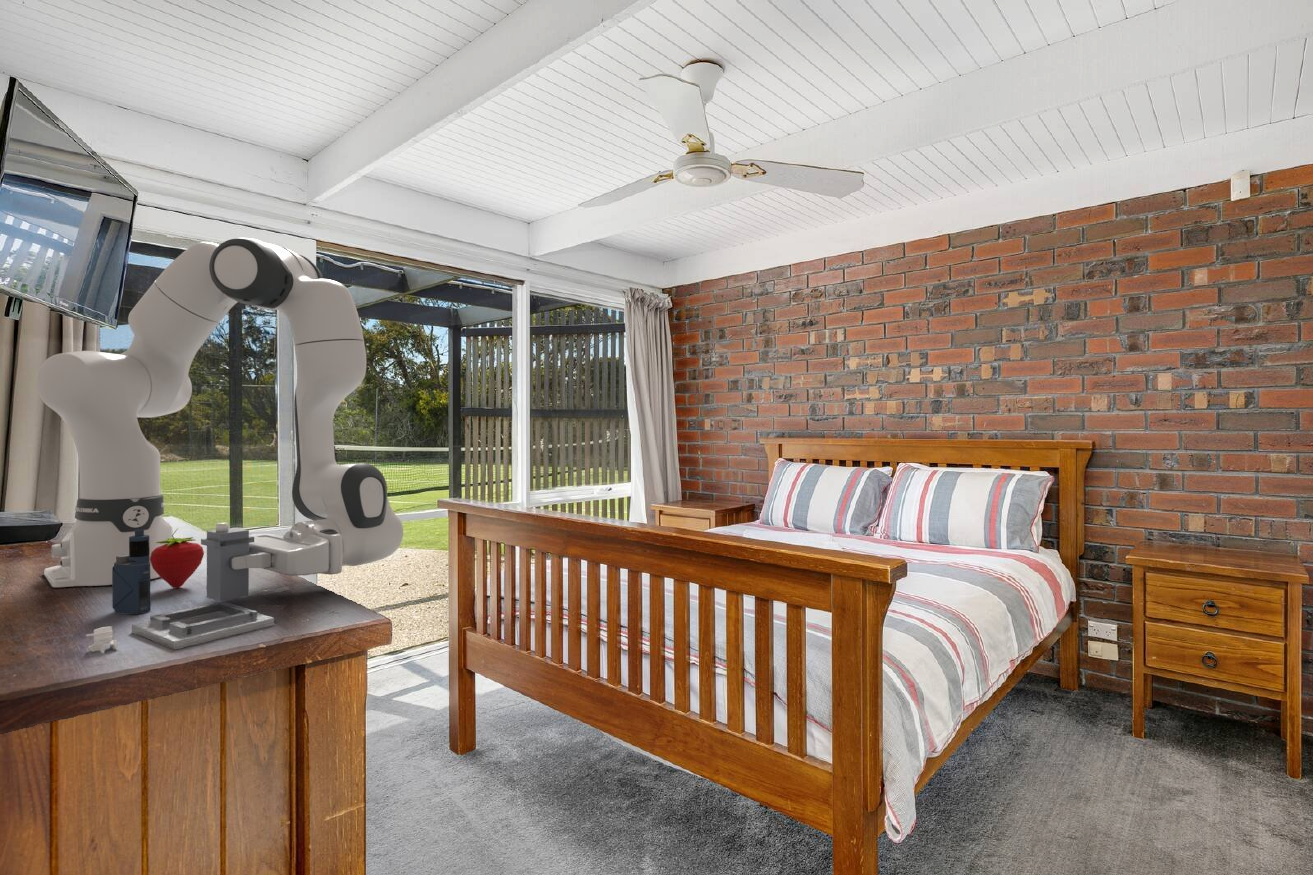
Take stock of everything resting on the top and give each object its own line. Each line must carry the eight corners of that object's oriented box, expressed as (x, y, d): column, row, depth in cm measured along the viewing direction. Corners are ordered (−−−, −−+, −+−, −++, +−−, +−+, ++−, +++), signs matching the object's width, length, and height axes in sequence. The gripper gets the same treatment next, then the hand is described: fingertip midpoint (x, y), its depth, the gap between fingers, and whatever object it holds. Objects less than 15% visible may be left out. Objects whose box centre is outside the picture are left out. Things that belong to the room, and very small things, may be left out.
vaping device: (138, 615, 96) (137, 531, 96) (108, 613, 97) (107, 529, 97) (155, 610, 99) (154, 528, 98) (125, 608, 100) (125, 527, 100)
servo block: (200, 598, 100) (200, 523, 100) (240, 591, 105) (240, 519, 105) (214, 603, 98) (214, 526, 98) (254, 594, 103) (254, 521, 103)
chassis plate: (131, 632, 89) (131, 617, 89) (229, 611, 99) (229, 597, 99) (174, 649, 82) (174, 633, 82) (274, 625, 93) (274, 610, 92)
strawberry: (211, 586, 113) (211, 526, 113) (159, 595, 107) (158, 532, 107) (194, 581, 117) (194, 523, 116) (143, 590, 110) (142, 529, 110)
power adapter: (115, 649, 84) (115, 623, 84) (121, 653, 82) (121, 628, 82) (84, 655, 81) (83, 629, 81) (89, 660, 80) (89, 634, 80)
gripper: (276, 522, 118) (188, 532, 106) (347, 535, 107) (257, 548, 95) (276, 558, 118) (188, 572, 106) (347, 574, 107) (257, 592, 96)
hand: (221, 561), depth 101 cm, fingers closed on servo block, 4 cm apart
